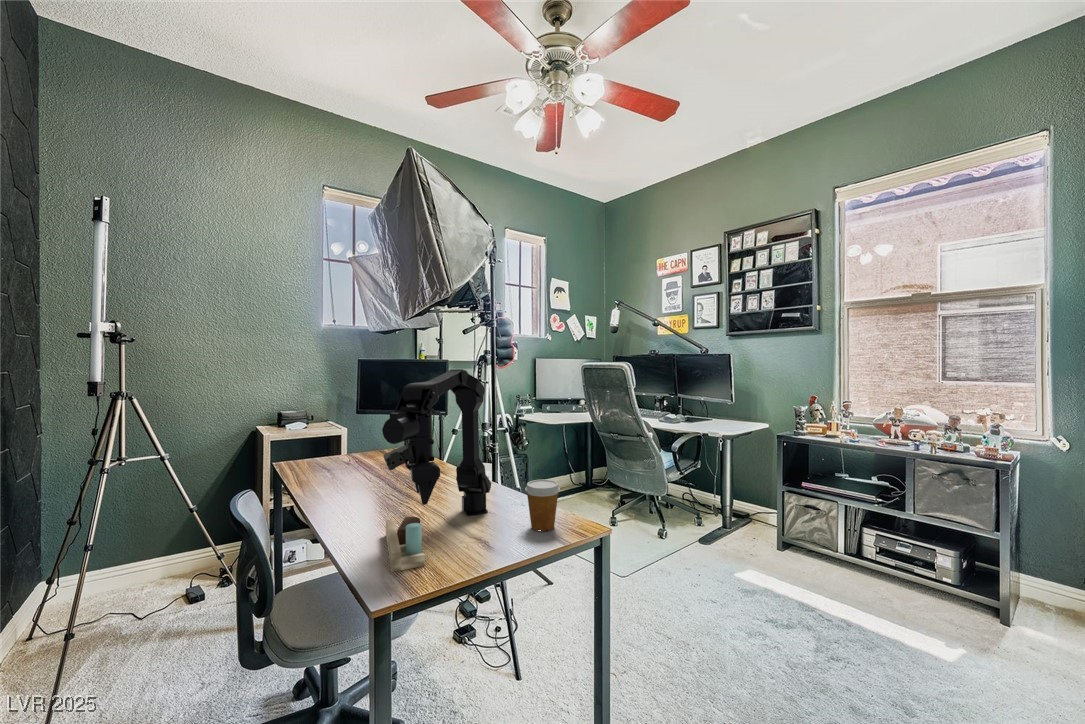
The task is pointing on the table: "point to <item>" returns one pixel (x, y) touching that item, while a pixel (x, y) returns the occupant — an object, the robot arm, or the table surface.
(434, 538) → the table surface
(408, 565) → the backstop fence
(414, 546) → the dowel
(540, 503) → the disposable coffee cup
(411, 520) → the brick
